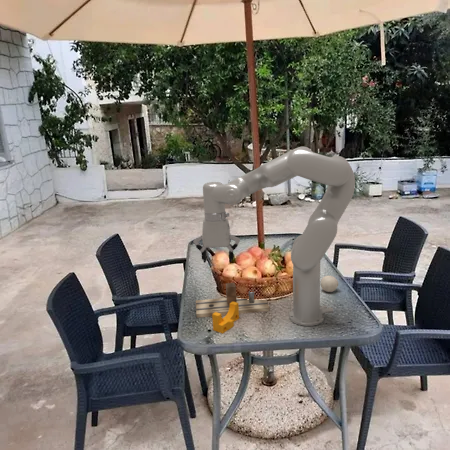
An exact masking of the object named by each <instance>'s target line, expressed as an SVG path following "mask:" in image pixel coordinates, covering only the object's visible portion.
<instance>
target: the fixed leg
mask: <svg viewBox="0 0 450 450" xmlns="http://www.w3.org/2000/svg"><path fill="white" fill-rule="evenodd" d="M250 291H251V290H249V291H248V296H249V303H254V302H255V300H254V295H255V291H254V292H250Z"/></svg>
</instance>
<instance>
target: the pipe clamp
mask: <svg viewBox="0 0 450 450" xmlns="http://www.w3.org/2000/svg"><path fill="white" fill-rule="evenodd" d="M222 316H223V315H221V314H220V313H217V312H215V313H213V314H212V316H211V317H212V330H213V331H214V332H218V333H220V334H222V335H223V334H225V333H226V332H228V331H229V330H231V329H232V328H233V327H235V322H236V321H238V320H239V319H240V314H239V304H238V303H237V302H231V303H230V307H229V311H228V313H227V315H224V316H223V317H222Z"/></svg>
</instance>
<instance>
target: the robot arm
mask: <svg viewBox="0 0 450 450" xmlns="http://www.w3.org/2000/svg"><path fill="white" fill-rule="evenodd" d="M295 177H300V178H303V179H305V180H306V179H307V180H309V181H313V182H316V183H320V184H322V185H327V189H326V191H325V193H324V194H323V196H322V198H321V200H320V201H319V203H318V205H317V207H316V208H315V209H314V211H313V212H312V213H311V215H310V217H309V218H308V220H307V221H308V222H307V225H306V227H305V229H304V230H303V232H302V234H300V235H298V236H297V237H295V238H296V239H294V241H293V244H292V247H291V252H290V261H291V263H292V301H293V302H292V303H293V304H292V305H293V306H292V308H293V309H292V310H291V311H290V312H289V313H288V317H289V320H290V321H291V322H292V323H294V324H296V325H297V326H304V327H313V326H316V325H317V326H318V325H320V324H322V323H323V322H324V320H325V315H326V314H333V313H334V308H333V307H328V305H321V262H322V259H323V258H324V256H325V254H326V253H327V252H328V250H329V248H330V247H331V246H332V244H333V242H334V240H335V239H336V237H337V233H338V224H339V222H340V219H341V218H342V216H343V214H344V213H345V212H346V209H347V208H348V206H349V204H350V203H351V201H352V198H353V195H354V194H355V189H356V187H355V186H356V179H355V178H356V177H355V173H354V171H353V169H352V167H351V165H350V163H349V161H348V160H347V159H346V158H345V157H343V156H340V155H333V156H328V155H324V154H320V153H317V152H314V151H312V150H311V148H309V147H307V146H299V147H296V148H294V149H291V150H290V151H287V152H285V153H283V154H281V155H279V156H278V157H275V158H273V159H271V160H270V161H267V162H265V163H263V164H262V165H260V166H258V167H257V168H255V169H253V170H251V171H249V172H246V173H245V174H243V175H241V176H239V177H237V178H235V179H233V180H231V181H230V182H229V183H228V182H227V183H225V184H224V183H222V182H219V181H209V182H206V183H204V184H203V186H202V194H203V195H202V196H203V210H204V212H203V213H204V219H203V220H202V232H201V233H202V235H200V236H197V237H196V238H194V239H193V240H192V242H193V244H194V246H195V247H196V249H197V250H199V252H200V254H201V260H202V261H203V263H206V262H207V260H208V259H207V250H206V249H207V248H227V249H228V258H229V259H228V260H229V261H228V262H229V263H232V261H233V260H234V251H235V250H236V249H237V247H239V244H240V241H241V238H240V237H237V236H235V235H232V234H231V230H230V229H231V228H230V223H229V217H230V213H229V212H227V211H226V205H238V204H239V203H241V202H242V201H243V200H244V199H245V198H246V197H248V196H250V195H252V194H254V193H256V192H258V191H261V190H262V189H267V188H273V187H277V186H278V185H281V184H283V183H285V182H287V181H289V180H291V179H293V178H295ZM231 240H232V241H234V244H233V245H232V244H231V242H232V241H231ZM200 241H202V244H200V243H199V242H200Z"/></svg>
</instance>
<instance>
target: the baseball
mask: <svg viewBox="0 0 450 450" xmlns="http://www.w3.org/2000/svg"><path fill="white" fill-rule="evenodd" d="M338 287H339V281H338V280H337V278H336V277H334V276H333V275H325V276H323V277H322V278H321V279H320V288H321V289H322V290H323V291H324V292H327V293H332V292H335V291H336V290H337V288H338Z"/></svg>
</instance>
